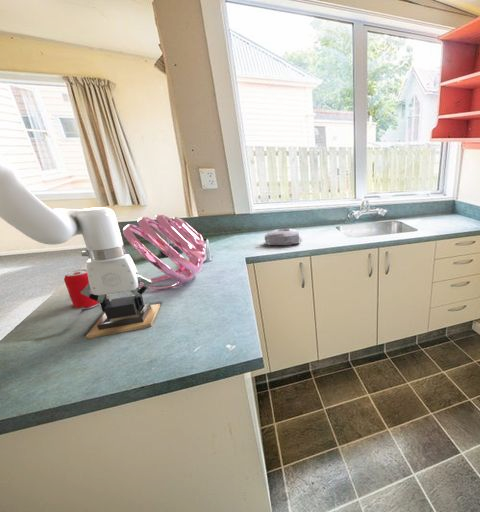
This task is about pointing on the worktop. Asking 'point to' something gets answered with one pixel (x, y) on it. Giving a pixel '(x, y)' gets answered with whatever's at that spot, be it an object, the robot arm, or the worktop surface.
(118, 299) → the dark grey rectangular block
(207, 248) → the planter
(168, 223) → the spiral basket
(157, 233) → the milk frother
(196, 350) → the worktop surface
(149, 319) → the base pad
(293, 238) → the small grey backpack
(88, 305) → the beverage can
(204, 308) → the worktop surface
